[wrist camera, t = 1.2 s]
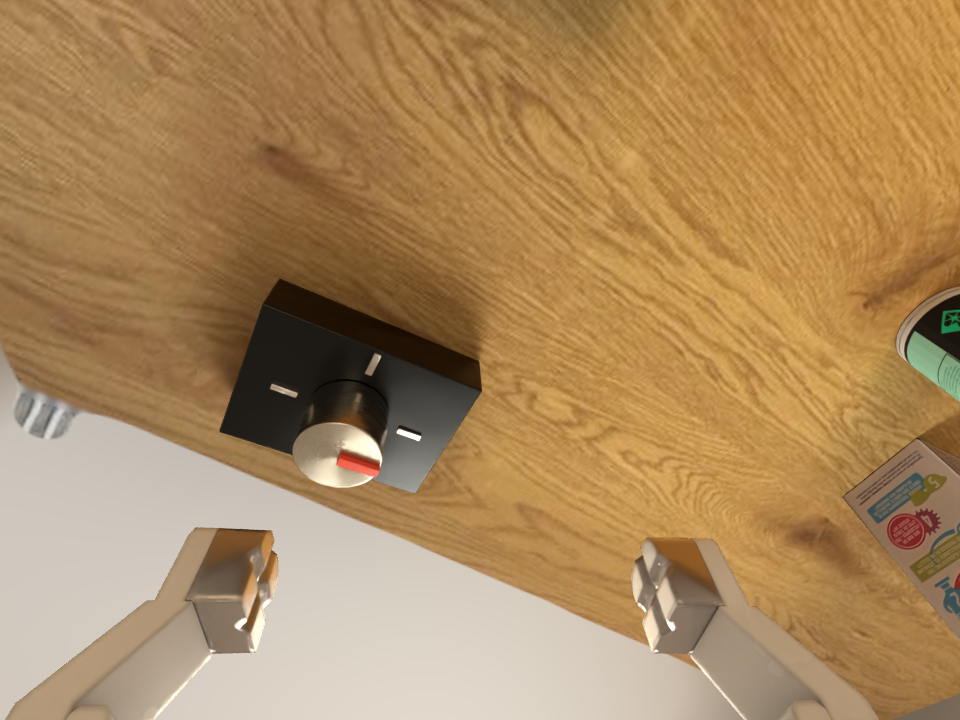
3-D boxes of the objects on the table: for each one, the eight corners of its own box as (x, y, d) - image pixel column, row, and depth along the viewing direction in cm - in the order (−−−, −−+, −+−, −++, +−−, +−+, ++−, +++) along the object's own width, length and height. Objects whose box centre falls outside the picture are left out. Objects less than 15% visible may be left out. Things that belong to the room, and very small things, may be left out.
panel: (236, 399, 32) (217, 434, 29) (279, 277, 27) (261, 305, 25) (417, 460, 35) (415, 496, 32) (479, 361, 31) (482, 392, 28)
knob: (297, 426, 29) (279, 476, 26) (323, 368, 27) (306, 415, 24) (371, 451, 30) (362, 502, 27) (401, 397, 28) (395, 445, 25)
